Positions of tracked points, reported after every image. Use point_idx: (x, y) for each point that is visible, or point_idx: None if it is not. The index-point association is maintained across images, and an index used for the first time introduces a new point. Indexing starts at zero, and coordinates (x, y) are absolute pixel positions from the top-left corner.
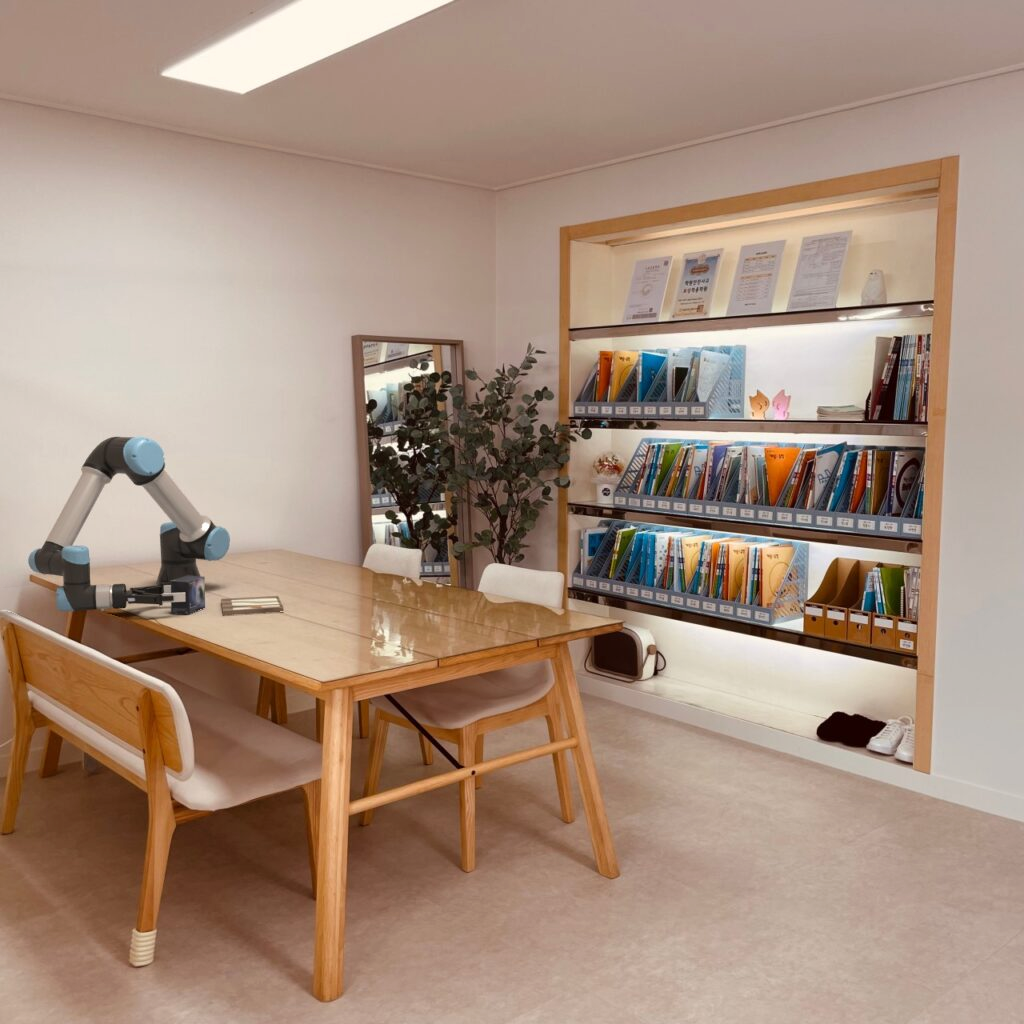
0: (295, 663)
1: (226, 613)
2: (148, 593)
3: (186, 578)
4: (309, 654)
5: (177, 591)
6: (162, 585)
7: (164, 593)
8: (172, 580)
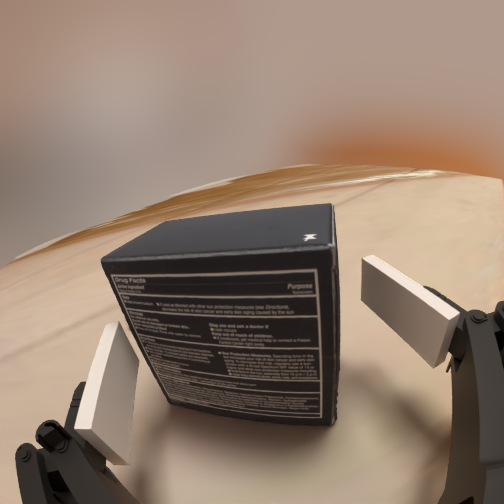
0: (491, 186)
1: None
2: (488, 419)
3: (234, 223)
4: (466, 185)
5: (339, 293)
6: (63, 437)
7: (442, 311)
8: (327, 238)
